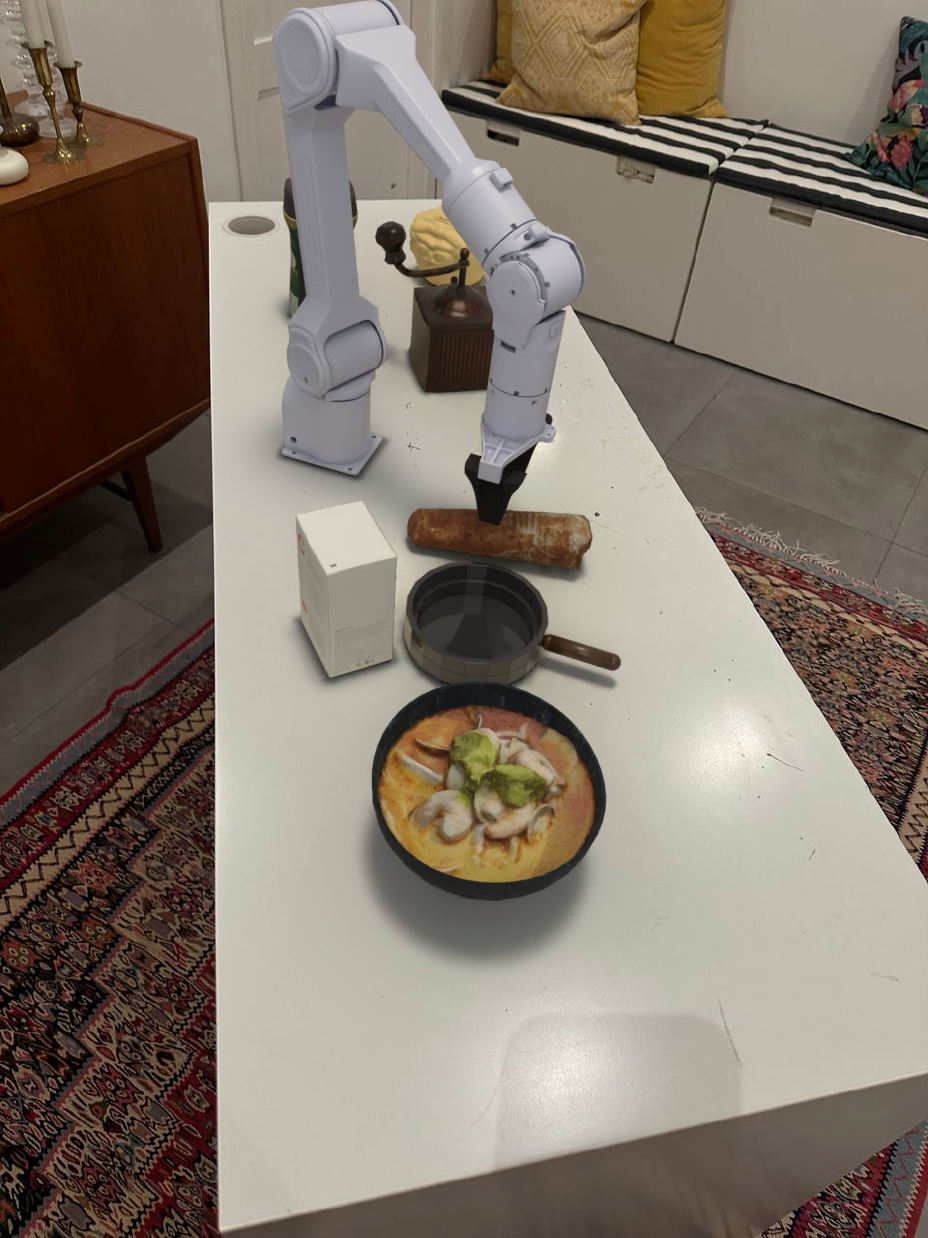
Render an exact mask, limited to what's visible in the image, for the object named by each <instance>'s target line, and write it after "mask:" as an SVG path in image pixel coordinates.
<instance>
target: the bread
mask: <svg viewBox="0 0 928 1238" xmlns="http://www.w3.org/2000/svg"><path fill="white" fill-rule="evenodd" d="M590 523H591V522H590V520H589V519H588V518H587V516H586V515H584V514H577V513H568V512H567V513H566V512H548V511H532V510H531V511H526V510H514V509H513V510H512V509H506V512H505V514H504V517H503V519H502V521H501V523H500V524H499V525H498V526H496V525H493V524H490V523H486V522H483V521H480V520H479V517H478V511H477V508H442V507H440V508H439V507H437V508H436V507H435V508H434V507H433V508H429V507H428V508H426V507H423V508H421V507H419V508H417V509H415V510H414V511H413V512H412V513H411V515H410V516H409V517H408V521H407V525H406V532H407V533H406V534H407V539H408V541H410V542H411V543H412V544H413V545H414V546H421V547H428V548H434V549H441V550H446V551H452V552H456V553H461V554H468V555H475V556H485V557H491V558H500V559H507V560H514V561H520V562H527V563H533V564H538V565H542V566H548V567H556V568H562V569H570V570H571V569H573V570H574V569H575V570H580V569H581V567H582V562H583V557H584V555H585V554H586V553H587V552H588V550H590V549H591V546H592V541H593V532H592V528H591V524H590Z"/></svg>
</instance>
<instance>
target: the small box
mask: <svg viewBox="0 0 928 1238" xmlns="http://www.w3.org/2000/svg"><path fill="white" fill-rule="evenodd" d="M295 528H296V529H295V530H296V531H295V532H296V548H297V566H298V567H297V569H298V583H299V585H298V586H299V601H300V620H301V623H302V624H303V627H304V629H305V630H306V633H307V635H308V637H309V640H310V641H311V643H312V645H313V647H314V650H315V652H316V654H317V656H318V658H319V660H320V662H321V664H322V666H323V668H324V670H325V672H326V674H327V676H328V678H334V677H338V676H342V675H345V674H348V673H349V674H350V673H351V672H354V671H358V670H361V669H365V668H368V667H371V666H375V665H377V664H381V663H384V662H387V661H391V660H393V654H394V636H395V635H394V632H395V614H396V613H395V612H396V611H395V610H396V588H397V568H398V555H397V553H396V552H395V550H394V549H393V547H392V545H391V544H390V542H389V541H388V539H387V538H386V536H385V534H384V532H383V531H382V529H381V528H380V526H379V525H378V523H377V521H376V519H375V518H374V516H373V515H372V513H371V512H370V510H369V508H368V507H367V505H366V504H365V502H364V500H358V501H352V502H349V503H344V504H339V505H334V506H330V507H326V508H321V509H315V510H311V511H307V512H301V513H296V515H295Z"/></svg>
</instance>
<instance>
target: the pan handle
mask: <svg viewBox="0 0 928 1238" xmlns="http://www.w3.org/2000/svg"><path fill="white" fill-rule="evenodd" d="M542 647H543V648H542V650H544V651H546V652H549V653H553V654H556V655H560V656H562V657H566V658H569V659H571V660H575V661H578V662H582V663H585V664H587V665H591V666H595V667H597V668H601V669H604V670H607V671H611V672H613V671H617V670H618V669H620V668H621V665H622V659H621V657H620V656H619V654H617V653H615V652H611V651H607V650H604V649H602V648H598V647H595V646H592V645H588V644H585V643H582V642H580V641H576V640H572V639H569V638H566V637H562V636H558V635H556V634H554V633H553V634H552V633H546V635H545V636H544V639H543V642H542Z"/></svg>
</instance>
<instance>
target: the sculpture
mask: <svg viewBox="0 0 928 1238" xmlns="http://www.w3.org/2000/svg"><path fill="white" fill-rule="evenodd" d="M412 220H413V221H412V223H411V224H410V225H409V238H410V240H409V250H410V252H411V253H412V254H413V256H414V259H415V262H416V264H417V266H418V270H427V269H435V268H441V267H445V266H448V265H452V264H455V263H458V260H459V259H460V250H461V249H462V248H467V249H468V250H469V251H470V249H469V248H468V246H467V245H466V244H465V242H464V241H463V239H462V238H461V237H460V235H459V234H458V232H457V231H456V230H455V228H454V227H453V226H452V224H451V223H450V221H449V220H448V218H447V217H446V216H445V214H444V213H443V211H442V204H441V205H439V206H437V207H435V208H430V209H427V210H423V211H419V212H418V213H416V215H415V216H414V218H413V219H412ZM468 260H469V262H470V266H469V267H467V271H466V280H465V285H469V286H474V284H476V283H477V282H479V281H480V280H481V279H482V278H483V276H484V275H485V274H486V272H485V270H484V269H483V268H482V266H481V265H480V263H479V262H478V260H477V259H476V258H475V256H474V255H473V253H472V252H471V251H470V255H469V258H468ZM453 276H456V277H457V278H458V281H459V270H457V271H455V272H452V273H449V274H444V275H438V276H431V277H424V279H425V280H427V281H428V282H429V283H431V284H433V285H434V286H435V287H436V286H439V285H442V284H449V283H451V278H452V277H453Z"/></svg>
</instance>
